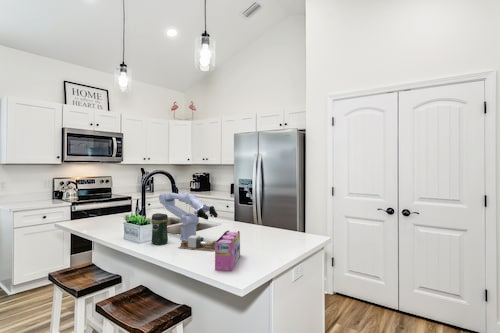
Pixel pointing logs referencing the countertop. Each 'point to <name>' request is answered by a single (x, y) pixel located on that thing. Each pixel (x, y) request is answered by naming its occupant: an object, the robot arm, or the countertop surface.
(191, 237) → the sleeve
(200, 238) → the nut
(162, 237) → the coffee jar
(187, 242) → the pipe
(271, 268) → the countertop surface
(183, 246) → the pipe stand
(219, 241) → the gum box
